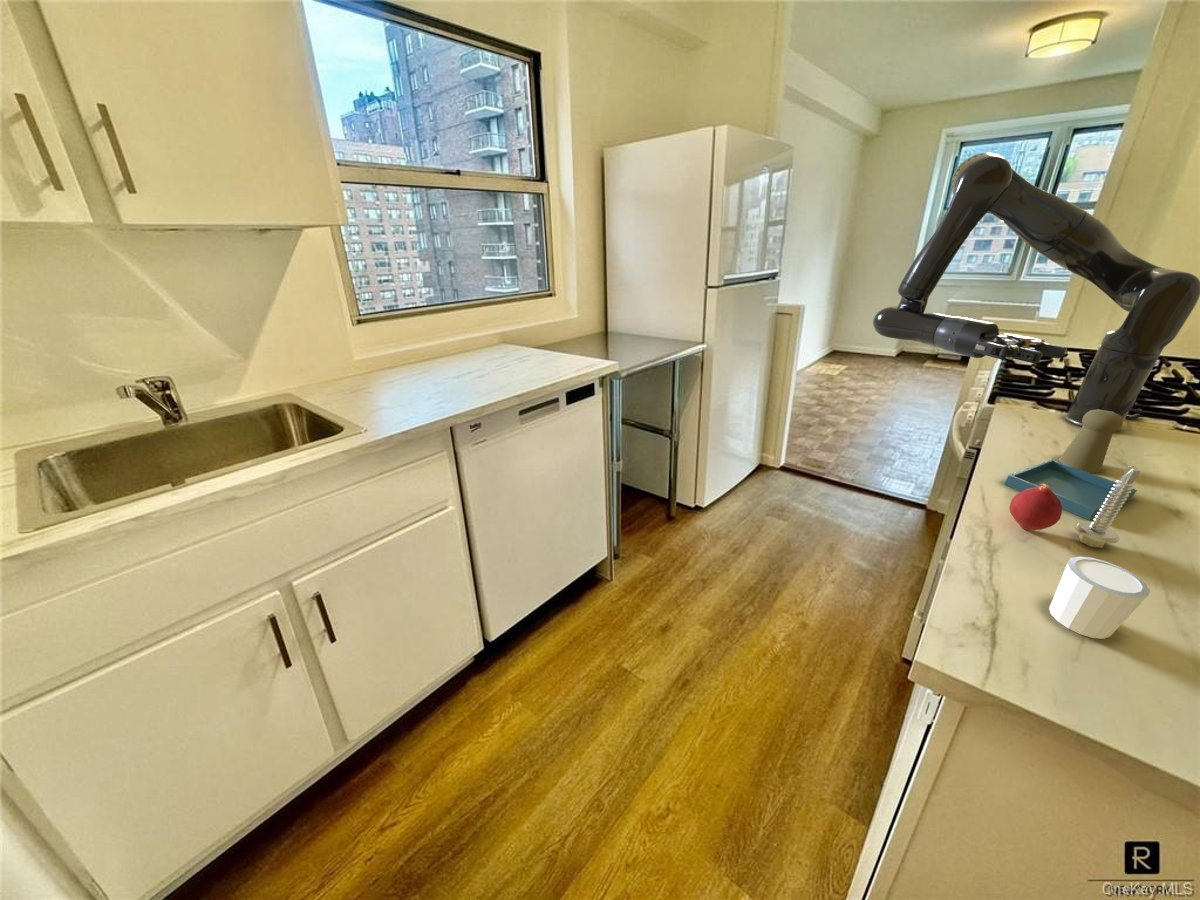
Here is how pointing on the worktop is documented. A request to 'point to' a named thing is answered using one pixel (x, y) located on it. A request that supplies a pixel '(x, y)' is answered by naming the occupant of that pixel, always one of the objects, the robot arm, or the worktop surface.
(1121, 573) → the white faceted cylinder
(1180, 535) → the worktop surface
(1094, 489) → the tray
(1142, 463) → the worktop surface
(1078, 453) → the cork
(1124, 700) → the worktop surface
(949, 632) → the worktop surface
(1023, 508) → the onion
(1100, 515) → the screw
